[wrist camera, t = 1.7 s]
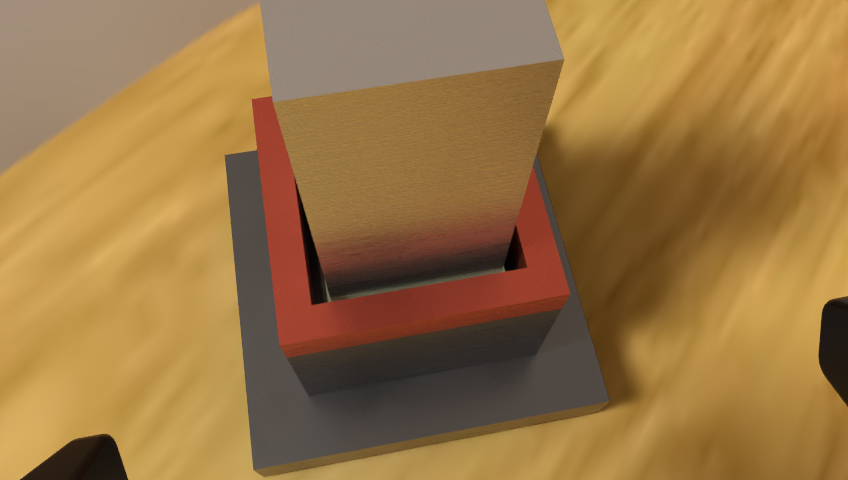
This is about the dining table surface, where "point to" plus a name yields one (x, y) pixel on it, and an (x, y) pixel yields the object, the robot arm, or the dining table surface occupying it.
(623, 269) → the dining table surface
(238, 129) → the dining table surface
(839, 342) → the robot arm
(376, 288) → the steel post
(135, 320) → the dining table surface
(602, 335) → the dining table surface
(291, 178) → the stand
